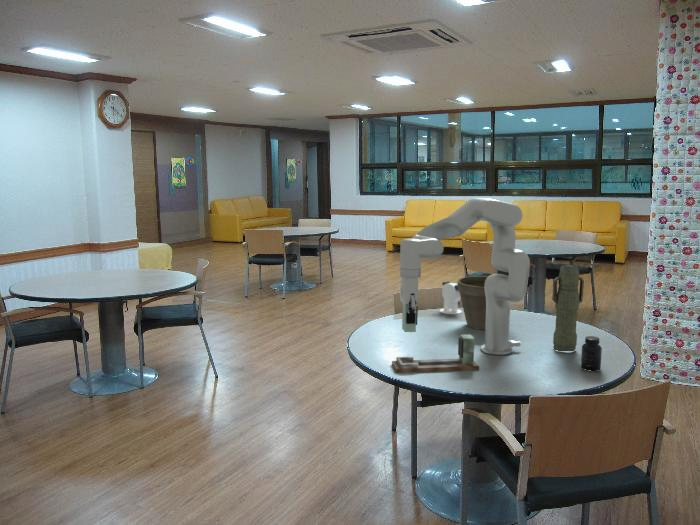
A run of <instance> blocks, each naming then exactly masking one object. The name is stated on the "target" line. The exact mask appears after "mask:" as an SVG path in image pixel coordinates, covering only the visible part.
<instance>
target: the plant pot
mask: <svg viewBox="0 0 700 525" xmlns="http://www.w3.org/2000/svg"><path fill="white" fill-rule="evenodd" d="M488 276H489V275H488ZM488 276H486V275H482V276H481V275H476V276H475V275H471V276H464V277H460V278H459V279H457V285H458V291H459V292H460V296H461V299H460V301H461V305H462V309H463V312H464V318H465V321H466V322H465V323H466V326H468V328H471V329H475V330H480V331H485V324H486V295H485V289H484V284H485V280H486V279H487V277H488Z"/></svg>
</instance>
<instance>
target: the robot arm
mask: <svg viewBox="0 0 700 525" xmlns="http://www.w3.org/2000/svg"><path fill="white" fill-rule="evenodd" d="M522 220H523V211H522V209H521V208H520V207H519V206H518V205H517V204H513V203H509V202H506V201H502V200H497V199H493V198H485V197H473V198H470V199H468V200H467V201H466V202H464V203H463V205H461V206H460V207H459V208H457V209H456V210H455V211H454V212H452V213H451V214H450V215H448V216H446V217H444V218H442V219H440V220H437V221H435V222H433V223H431V224H428V225H426V226H425V227H424V228H421V230H419V231H418V232H417V233H416V234H414V235H413V236H412V237H411V238H403V239H401V241H400V248H399V249H400V253H399V256H400V257H399V277H400V278H401V279H400V291H399V293H400V294H399V300H400V302H401V303H402V305H403V304H404V305H406V304H407V313H406V323H407V324H415V307H416V306H415V305H417V306H418V303H419V279H420V278H421V273H422V272H421V270H422V259H431V260H432V259H437V258H439V257H441V255H442V254H443V253H444V250H445V249H444V245H443V242H442V241H441V240H445V239H451V238H452V239H453V238H457V237H460V236H463V235H464V234H465V233H466V232H467V231H468V230H469V229H471V228H472V227H473V226H475V225H476V224H477V223H478V222H480V221H483V222H487V224H489V226H490V227H491V229H492V232H493V239H492V240H493V242H492V249H491V260H490V261H491V262H490V263H491V266H492V268H493V269H495V270H496V271H497V270H498V271H500V272H505V273H508V275H507V274H502V273H492V274H490V275H488V277H487V279H486V280H485V284H484V289H485V295H486V324H485V330H484V343H483V344H482V345H480V350H481V351H482V352H483V353H486V354H488V355H494V356H495V355H496V356H504V355H507V356H508V355H510V354H512V353H513V348H514V347H521V341H515V340H510V325H511V305H510V302H513V303H518V302H520V301H522V300H523V299H524V298H525V296H526V294H527V290H528V281H529V275H530V266H531V261H530V257H529V255H528V253H526V251H525V250H522V249H517V248H516V240H517V239H516V238H517V237H516V236H517V234H516V230H515V228H514V227H516V226H517V225H520V223H521V222H522ZM409 303H411V304H409ZM409 306H411V307H410V308H409Z"/></svg>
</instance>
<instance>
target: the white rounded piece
mask: <svg viewBox="0 0 700 525" xmlns="http://www.w3.org/2000/svg"><path fill="white" fill-rule="evenodd" d="M441 292H442V293H441V295H442V297H443V308H442V309H440V310H439V312H440V313H442V314H446V315H459V314H461V313H463V311H462V309H459V307H458V306H460V301H461V296H460V292H459V291H458V283H454V282H450V281H449V280H448V281H442V290H441Z"/></svg>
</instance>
